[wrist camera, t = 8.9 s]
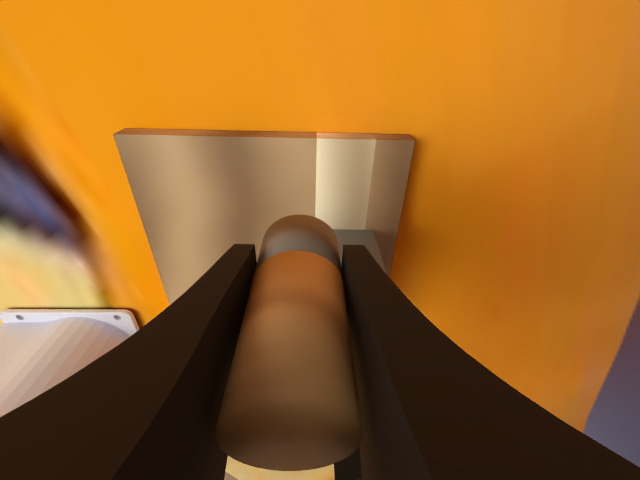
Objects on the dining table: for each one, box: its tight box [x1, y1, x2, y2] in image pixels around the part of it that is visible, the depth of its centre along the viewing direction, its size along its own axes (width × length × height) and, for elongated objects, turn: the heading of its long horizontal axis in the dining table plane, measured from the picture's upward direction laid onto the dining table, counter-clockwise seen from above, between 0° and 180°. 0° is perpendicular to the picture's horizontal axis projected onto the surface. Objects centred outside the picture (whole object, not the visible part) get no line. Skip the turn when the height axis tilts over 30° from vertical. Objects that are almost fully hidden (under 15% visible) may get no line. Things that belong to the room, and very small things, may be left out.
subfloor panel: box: [113, 128, 415, 305], centre depth 19 cm, size 15×12×1 cm
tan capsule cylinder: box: [215, 214, 363, 471], centre depth 8 cm, size 3×3×6 cm
